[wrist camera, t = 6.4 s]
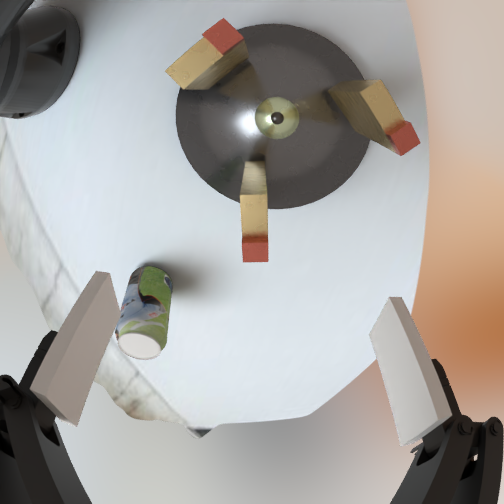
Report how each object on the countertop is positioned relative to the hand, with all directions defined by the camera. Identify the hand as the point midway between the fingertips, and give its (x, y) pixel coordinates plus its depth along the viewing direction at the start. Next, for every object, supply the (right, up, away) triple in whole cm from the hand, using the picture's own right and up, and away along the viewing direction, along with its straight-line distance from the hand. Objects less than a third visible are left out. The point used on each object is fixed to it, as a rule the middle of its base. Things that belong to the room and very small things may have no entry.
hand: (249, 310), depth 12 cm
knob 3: (+9, +16, +10) cm, 21 cm away
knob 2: (+1, +9, +15) cm, 18 cm away
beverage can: (-13, -1, +25) cm, 28 cm away
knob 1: (-3, +19, +9) cm, 21 cm away
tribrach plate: (+2, +16, +13) cm, 21 cm away
